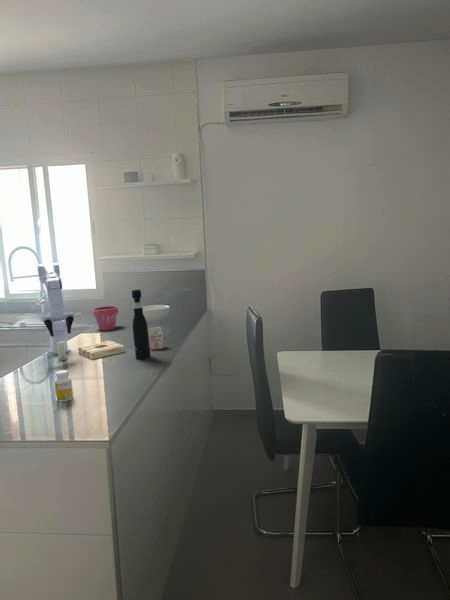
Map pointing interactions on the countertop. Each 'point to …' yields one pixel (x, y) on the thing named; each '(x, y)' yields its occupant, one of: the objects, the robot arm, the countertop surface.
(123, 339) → the countertop surface
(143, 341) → the wine bottle
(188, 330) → the countertop surface
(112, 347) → the pocket block
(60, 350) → the pin
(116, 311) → the plant pot
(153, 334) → the white pink printed box
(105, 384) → the countertop surface
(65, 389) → the supplement bottle
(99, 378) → the countertop surface
